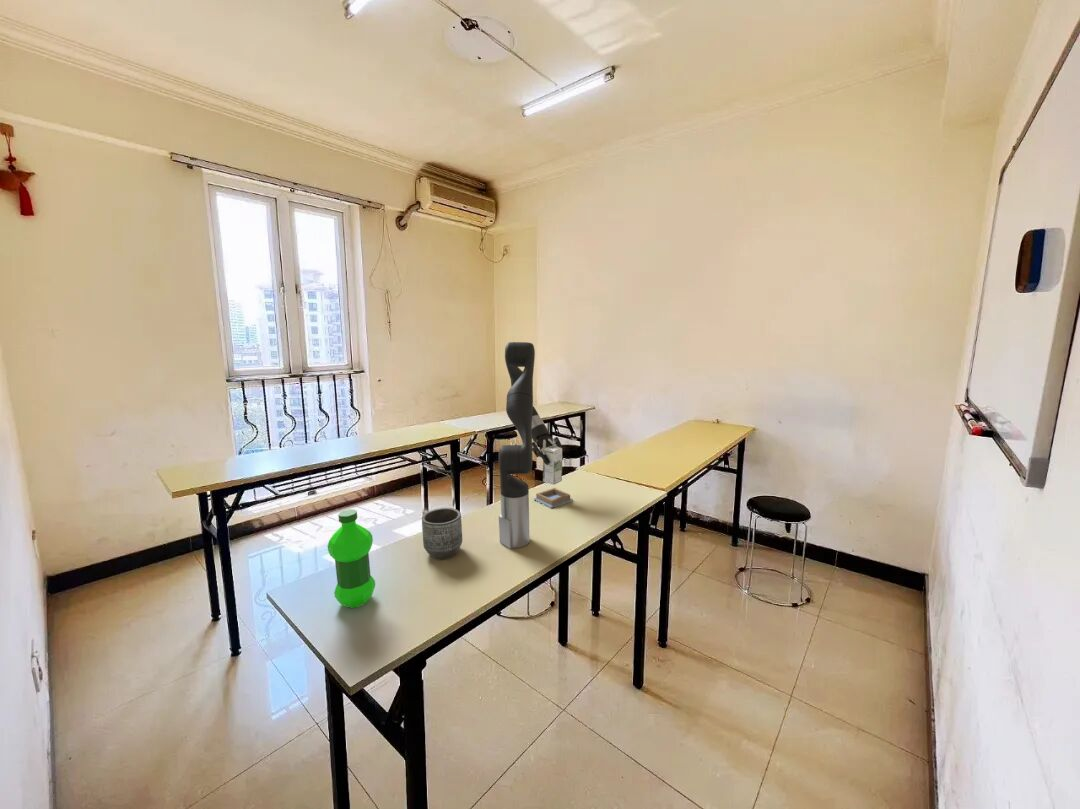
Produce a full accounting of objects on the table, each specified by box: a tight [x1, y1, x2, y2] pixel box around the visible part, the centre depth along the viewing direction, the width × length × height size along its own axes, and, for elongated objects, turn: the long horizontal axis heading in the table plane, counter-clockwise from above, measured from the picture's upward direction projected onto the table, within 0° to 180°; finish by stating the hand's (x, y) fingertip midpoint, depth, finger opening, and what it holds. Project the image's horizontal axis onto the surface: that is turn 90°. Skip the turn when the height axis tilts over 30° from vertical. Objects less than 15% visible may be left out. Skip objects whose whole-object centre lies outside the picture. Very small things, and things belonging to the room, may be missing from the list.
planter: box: [421, 507, 463, 561], centre depth 135 cm, size 12×12×13 cm
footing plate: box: [533, 487, 574, 509], centre depth 176 cm, size 12×11×3 cm
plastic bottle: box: [327, 508, 376, 609], centre depth 110 cm, size 10×10×25 cm
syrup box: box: [542, 445, 563, 486], centre depth 174 cm, size 6×6×14 cm
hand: (555, 462), depth 172 cm, fingers closed on syrup box, 6 cm apart
